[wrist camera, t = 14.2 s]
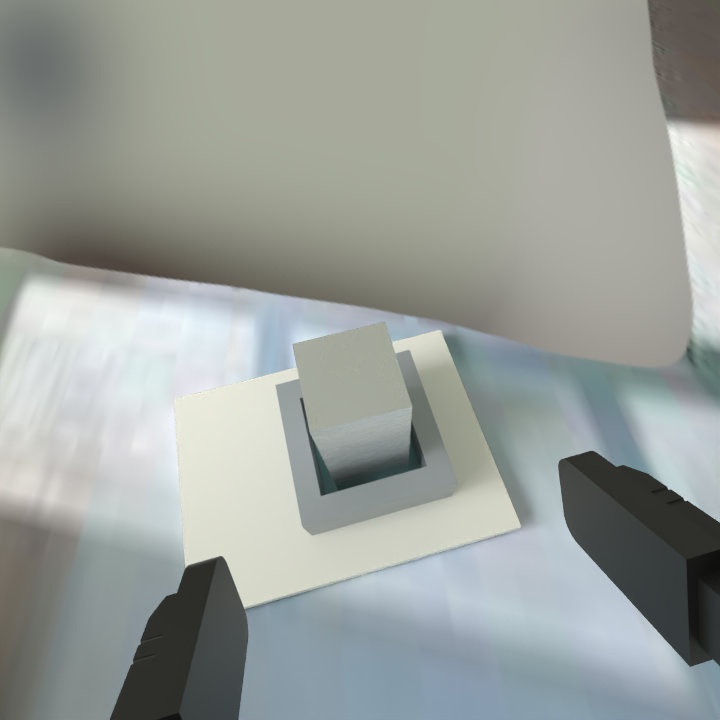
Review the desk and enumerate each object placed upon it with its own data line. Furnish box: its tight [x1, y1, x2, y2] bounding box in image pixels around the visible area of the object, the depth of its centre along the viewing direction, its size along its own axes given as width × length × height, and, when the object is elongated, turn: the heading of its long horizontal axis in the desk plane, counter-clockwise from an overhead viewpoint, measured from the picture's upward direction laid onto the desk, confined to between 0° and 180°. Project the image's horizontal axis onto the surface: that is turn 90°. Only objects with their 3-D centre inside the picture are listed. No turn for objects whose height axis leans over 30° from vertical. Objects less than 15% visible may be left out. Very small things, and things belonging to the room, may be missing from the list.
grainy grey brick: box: [293, 322, 412, 491], centre depth 23 cm, size 4×4×10 cm
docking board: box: [174, 330, 522, 609], centre depth 26 cm, size 18×13×4 cm
